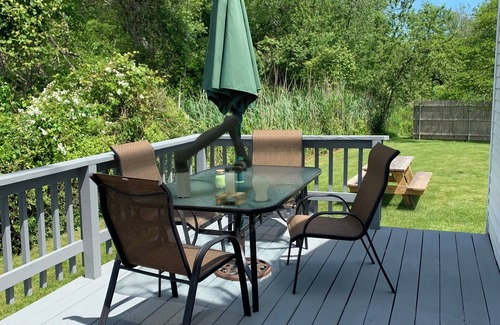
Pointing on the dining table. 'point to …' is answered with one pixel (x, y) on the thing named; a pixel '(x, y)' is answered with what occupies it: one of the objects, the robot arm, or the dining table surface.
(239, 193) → the shelf stand
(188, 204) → the dining table surface
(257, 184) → the cup
